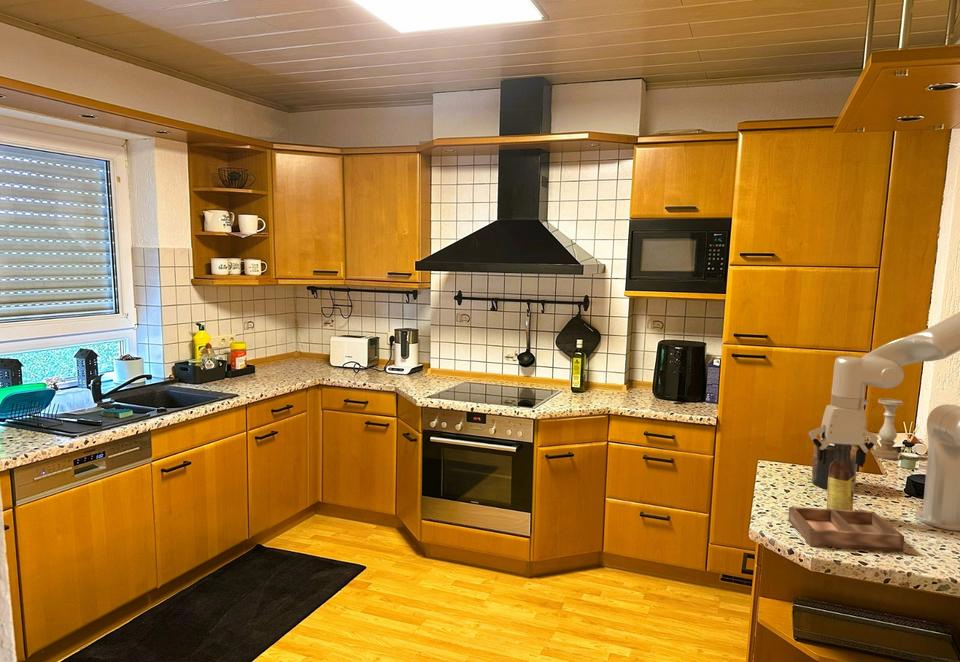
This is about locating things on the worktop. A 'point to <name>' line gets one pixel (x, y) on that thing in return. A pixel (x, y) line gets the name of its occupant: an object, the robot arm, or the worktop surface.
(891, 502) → the worktop surface
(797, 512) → the caddy
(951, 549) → the worktop surface
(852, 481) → the sauce bottle
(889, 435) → the candle holder
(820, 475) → the jar
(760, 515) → the worktop surface
